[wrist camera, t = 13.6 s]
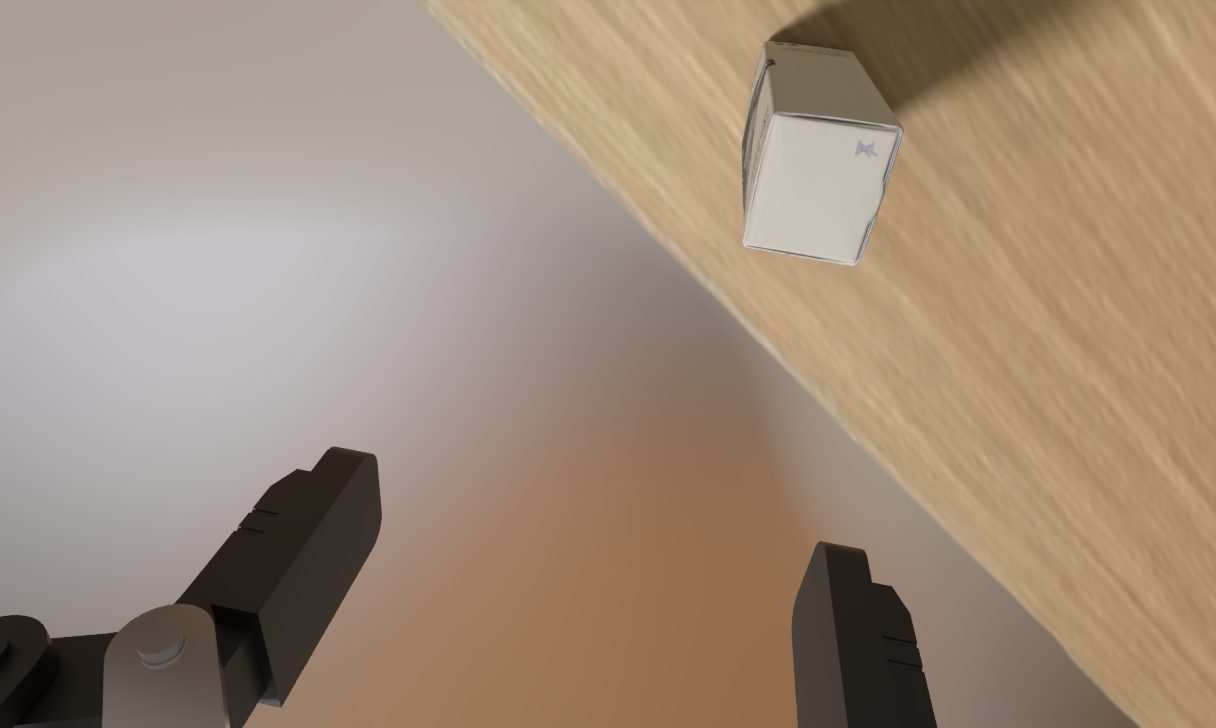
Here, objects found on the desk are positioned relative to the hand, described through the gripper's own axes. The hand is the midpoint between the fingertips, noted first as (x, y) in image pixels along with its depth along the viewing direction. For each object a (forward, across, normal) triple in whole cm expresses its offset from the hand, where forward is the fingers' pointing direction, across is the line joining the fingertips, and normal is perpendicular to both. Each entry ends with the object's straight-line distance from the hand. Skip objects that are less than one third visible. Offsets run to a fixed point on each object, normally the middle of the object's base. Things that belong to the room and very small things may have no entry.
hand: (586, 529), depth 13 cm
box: (+28, -5, -2) cm, 29 cm away
